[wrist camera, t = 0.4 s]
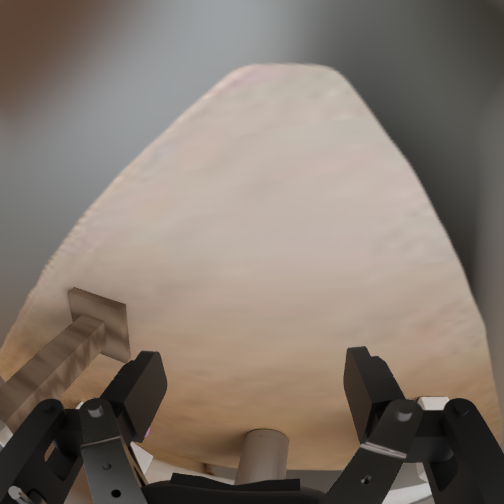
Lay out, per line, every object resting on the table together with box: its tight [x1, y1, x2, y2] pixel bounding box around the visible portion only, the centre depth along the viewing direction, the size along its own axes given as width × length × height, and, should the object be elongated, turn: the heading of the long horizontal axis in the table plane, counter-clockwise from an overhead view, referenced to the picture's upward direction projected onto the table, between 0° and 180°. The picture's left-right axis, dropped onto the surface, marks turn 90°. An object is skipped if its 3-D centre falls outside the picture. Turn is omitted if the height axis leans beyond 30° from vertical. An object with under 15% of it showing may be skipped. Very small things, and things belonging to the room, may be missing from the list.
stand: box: [0, 287, 131, 448], centre depth 33 cm, size 12×12×32 cm
